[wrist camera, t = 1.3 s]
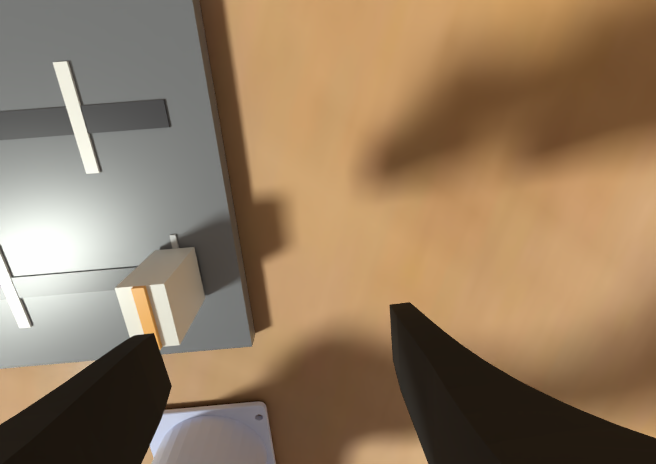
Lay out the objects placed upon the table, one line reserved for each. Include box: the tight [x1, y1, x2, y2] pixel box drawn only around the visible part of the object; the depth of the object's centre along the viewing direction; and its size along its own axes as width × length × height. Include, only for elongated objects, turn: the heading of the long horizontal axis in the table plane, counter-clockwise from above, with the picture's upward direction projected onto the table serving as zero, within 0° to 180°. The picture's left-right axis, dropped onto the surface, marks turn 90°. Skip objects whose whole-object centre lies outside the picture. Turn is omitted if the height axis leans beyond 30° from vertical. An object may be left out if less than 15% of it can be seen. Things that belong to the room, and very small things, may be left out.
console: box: [0, 0, 255, 369], centre depth 18 cm, size 18×18×1 cm
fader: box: [115, 247, 205, 350], centre depth 17 cm, size 3×2×4 cm, turn 4°
